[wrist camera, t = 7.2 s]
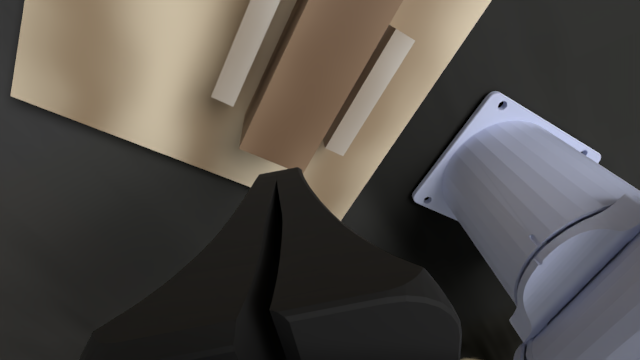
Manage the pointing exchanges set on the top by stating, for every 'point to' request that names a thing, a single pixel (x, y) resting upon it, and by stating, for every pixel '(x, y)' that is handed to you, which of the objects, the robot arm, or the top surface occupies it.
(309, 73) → the slat
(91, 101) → the slat board
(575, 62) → the top surface
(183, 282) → the robot arm
